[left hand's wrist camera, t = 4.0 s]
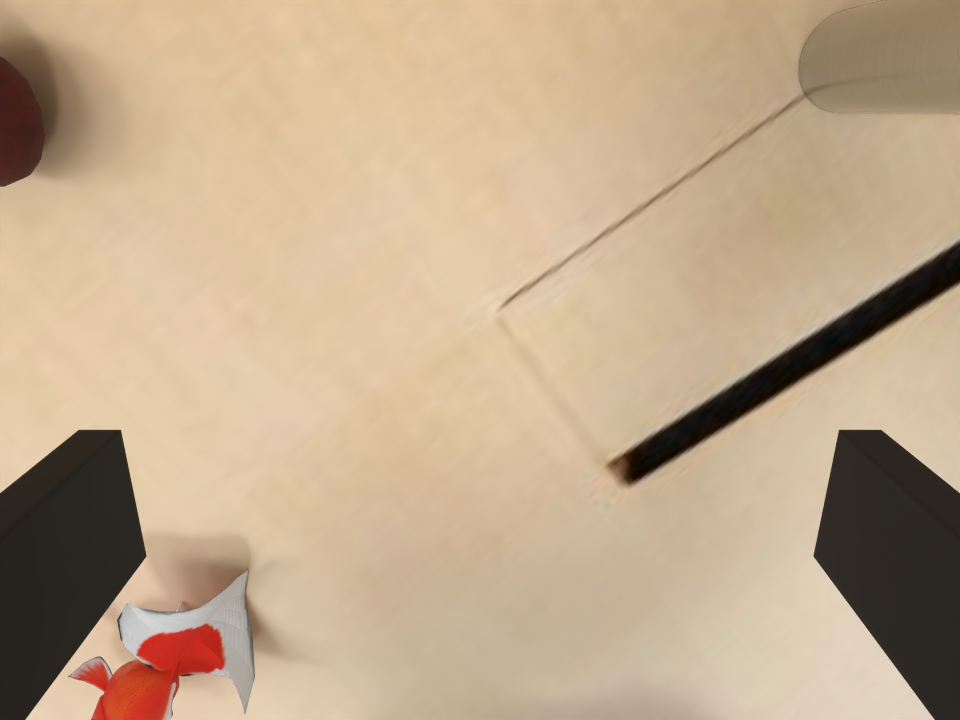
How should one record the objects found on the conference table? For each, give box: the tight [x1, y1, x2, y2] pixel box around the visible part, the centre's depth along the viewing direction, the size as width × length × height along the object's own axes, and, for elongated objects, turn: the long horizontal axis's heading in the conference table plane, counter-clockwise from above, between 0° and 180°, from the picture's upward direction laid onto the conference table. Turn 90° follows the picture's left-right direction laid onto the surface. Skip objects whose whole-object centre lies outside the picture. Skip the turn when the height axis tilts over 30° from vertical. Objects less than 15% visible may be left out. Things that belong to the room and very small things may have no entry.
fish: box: [68, 570, 255, 720], centre depth 47 cm, size 11×16×10 cm
